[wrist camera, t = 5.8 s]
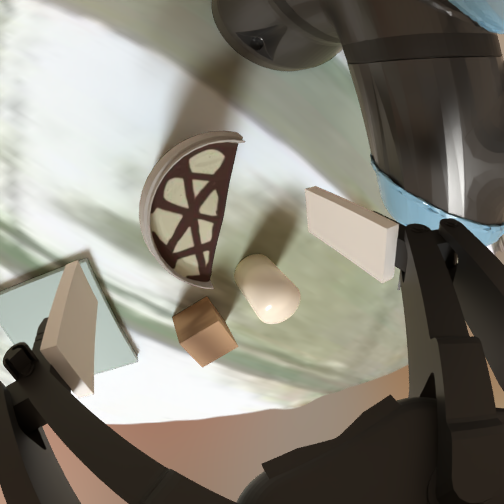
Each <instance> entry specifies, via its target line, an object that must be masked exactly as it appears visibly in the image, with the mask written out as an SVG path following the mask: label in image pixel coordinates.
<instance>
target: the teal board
mask: <svg viewBox="0 0 504 504" xmlns="http://www.w3.org/2000/svg"><path fill="white" fill-rule="evenodd" d="M79 263H80V265H81V268H82V270H83V272H84V274H85V276H86V278H87V281H88V283H89V285H90V287H91V289H92V291H93V293H94V295H95V297H96V299H97V301H98V308H97V320H96V333H95V352H94V374H98V373H102V372H105V371H109V370H112V369H116V368H119V367H122V366H126V365H129V364H132V363H136V362H138V357H137V355H136V353H135V352H134V350H133V348H132V346H131V345H130V343H129V341H128V339H127V338H126V336H125V334H124V332H123V330H122V329H121V327H120V325H119V323H118V321H117V319H116V317H115V316H114V314H113V312H112V310H111V308H110V306H109V304H108V302H107V300H106V298H105V296H104V294H103V292H102V290H101V288H100V285H99V283H98V281H97V279H96V277H95V275H94V272H93V270H92V268H91V266H90V263H89V261H88V259H87V258H85V259H82V260H80V261H79ZM64 269H65V266H64V267H61V268H58V269H56V270H53V271H50V272H48V273H45V274H43V275H40V276H38V277H35V278H32V279H30V280H27V281H25V282H22V283H20V284H18V285H15V286H13V287H10V288H8V289H5V290H3V291H1V292H0V325H1V327H2V328H3V330H4V331H5V333H6V334H7V336H8V337H9V339H10V340H11V341H12V343H13V344H14V345H15V344H17V343H19V342H25V343H26V344H27V345H28V346H29V347H30V349H31V350H32V348H33V344H34V342H35V337H36V336H37V335H36V334H37V330H38V327H39V325H40V324H41V322H42V321H43V319H44V318H47V317H49V314H50V310H51V307H52V304H53V301H54V298H55V294H56V291H57V288H58V286H59V283H60V280H61V277H62V274H63V271H64Z"/></svg>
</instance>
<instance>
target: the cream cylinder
mask: <svg viewBox="0 0 504 504" xmlns="http://www.w3.org/2000/svg"><path fill="white" fill-rule="evenodd" d="M234 279H235V282H236V284H237V286H238V287H239V289H240V290H241V292H242V293H243V295H244V296H245V298H246V299H247V301H248V302H249V304H250V305H251V307H252V308H253V310H254V311H255V313H256V314H257V315H258V317H259V318H260V320H261V321H263V322H265V323H268V324H276V323H280V322H282V321H284V320H286V319H288V318H289V317H290V316H291V315H292V314H293V313H294V312H295V311H296V309H297V308H298V306H299V303H300V299H301V295H300V291H299V289H298V288H297V287H296V286H295V285H294V284H293V283H292V282H291V281H290V280H289V279H288V278H287V277H286V276H285V275H284V274H283V273H282V271H281V270H280V269H279V268H278V267H277V266H276V265H275V264H274V263H273V262H272V261H271V260H270V259H269V258H268V257H266V256H265V255H262V254H253V255H250V256H247V257H245V258H244V259H243V260H242V261H241V262H240V263H239V264H238V265H237V267H236V269H235V273H234Z"/></svg>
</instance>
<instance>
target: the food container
mask: <svg viewBox="0 0 504 504" xmlns="http://www.w3.org/2000/svg"><path fill="white" fill-rule="evenodd" d="M242 139H243V137H242V136H241V135H240V134H239V133H237V132H230V131H213V132H208V133H203V134H199V135H196V136H193V137H191V138H188V139H186V140H184V141H183V142H181V143H179V144H178V145H176V146H174V147H173V148H172V149H171V150H169V151H168V152H167V153H166V154H165V155H164V156H163V157H162V158H161V159H160V160H159V161H158V163H157V164H156V165H155V166H154V168H153V169H152V171H151V173H150V174H149V176H148V178H147V180H146V182H145V185H144V188H143V190H142V194H141V199H140V205H139V220H140V227H141V231H142V234H143V238H144V241H145V243H146V244H147V246H148V248H149V250H150V252H151V253H152V254H153V256H154V257H155V258H156V259H157V261H158V262H159V263H160V265H161V266H162V267H163V268H164V269H165V270H167V271H168V272H169V273H170V274H171V275H173V276H174V277H176V278H178V279H179V280H181V281H184V282H186V283H188V284H191V285H193V286H197V287H201V288H206V289H214V288H213V285H212V283H211V280H210V276H211V273H212V264H213V259H214V254H215V249H216V245H217V241H218V237H219V233H220V229H221V225H222V221H223V217H224V211H225V205H226V199H227V193H228V188H229V182H230V178H231V173H232V169H233V164H234V160H235V155H236V151H237V146H238V143H244V142H245V141H243V140H242Z"/></svg>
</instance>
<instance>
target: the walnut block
mask: <svg viewBox="0 0 504 504" xmlns="http://www.w3.org/2000/svg"><path fill="white" fill-rule="evenodd" d="M172 318H173V322H174V326H175V329H176V333H177V336H178V340H179V343H180V345H181V346H182V347H183V348H184V349H185V350H186V351H187V352H188V353H189V354H190V355H191V356H192V357H193V358H194V359H195V360H196V361H197V362H198V363H199V364H200V365H201V366H202V367H204V366H206V365H208V364H209V363H211V362H213V361H214V360H216V359H218V358H220V357H221V356H223V355H225V354H226V353H228V352H230V351H232V350H233V349H235V348H237V347H238V345H237V343H236V341H235V340H234V338H233V336H232V334H231V332H230V330H229V328H228V326H227V324H226V322H225V321H224V319H223V318H222V317H221V315H220V314H219V312H218V311H217V310H216V308H215V307H214V305H213V304H212V303H211V301H210V300H209V298H208V297H207V296H206V297H205V298H203V299H201V300H200V301H198V302H196V303H195V304H193V305H192V306H190V307H188V308H187V309H185V310H183V311H182V312H180V313H178V314H177V315H175V316H173V317H172Z"/></svg>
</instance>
